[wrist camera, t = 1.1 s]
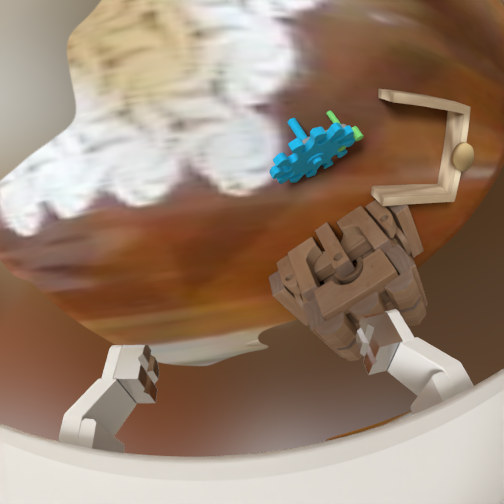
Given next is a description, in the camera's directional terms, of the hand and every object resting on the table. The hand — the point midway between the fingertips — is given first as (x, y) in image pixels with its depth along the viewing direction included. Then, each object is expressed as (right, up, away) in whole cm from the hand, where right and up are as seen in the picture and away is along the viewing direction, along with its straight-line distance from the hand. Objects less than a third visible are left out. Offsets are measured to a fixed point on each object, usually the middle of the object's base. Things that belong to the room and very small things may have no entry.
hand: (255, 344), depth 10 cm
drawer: (+23, +18, +22) cm, 36 cm away
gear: (+6, +16, +21) cm, 27 cm away
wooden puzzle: (+14, +3, +32) cm, 35 cm away
